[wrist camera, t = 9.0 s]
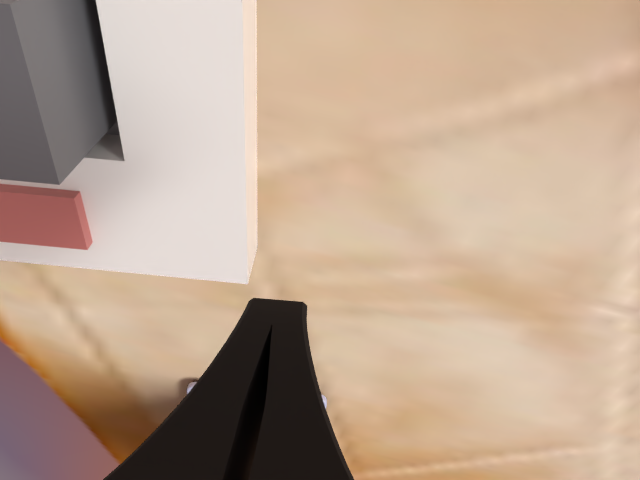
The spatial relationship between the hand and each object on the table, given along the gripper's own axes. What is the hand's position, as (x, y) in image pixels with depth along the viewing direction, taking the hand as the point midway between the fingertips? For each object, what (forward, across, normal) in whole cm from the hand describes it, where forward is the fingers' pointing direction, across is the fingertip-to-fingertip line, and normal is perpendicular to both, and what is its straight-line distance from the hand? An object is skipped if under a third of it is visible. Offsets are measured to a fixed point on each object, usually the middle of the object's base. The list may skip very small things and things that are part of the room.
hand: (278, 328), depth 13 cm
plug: (+9, +9, -4) cm, 13 cm away
